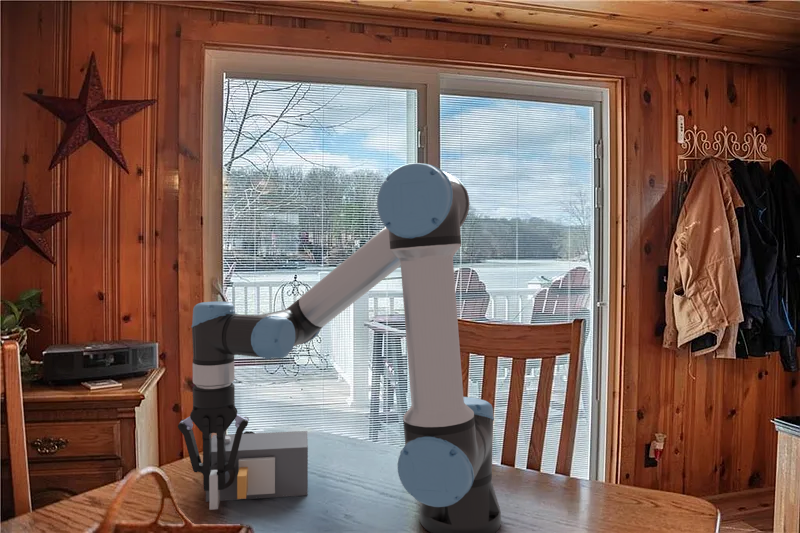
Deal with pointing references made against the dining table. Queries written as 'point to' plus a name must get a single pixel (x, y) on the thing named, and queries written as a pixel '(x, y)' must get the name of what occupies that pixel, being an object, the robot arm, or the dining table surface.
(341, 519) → the dining table surface
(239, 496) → the door
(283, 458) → the housing
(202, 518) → the dining table surface
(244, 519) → the dining table surface
